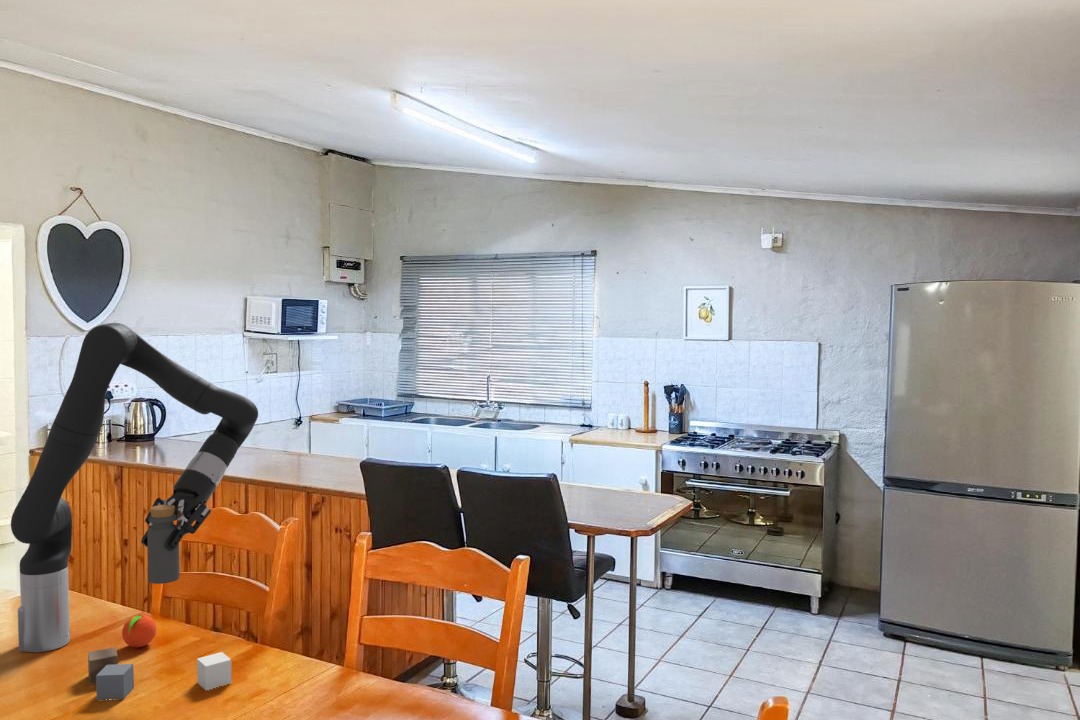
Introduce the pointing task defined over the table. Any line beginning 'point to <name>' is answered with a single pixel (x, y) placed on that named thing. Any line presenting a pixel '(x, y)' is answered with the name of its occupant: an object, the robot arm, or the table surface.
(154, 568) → the bottle
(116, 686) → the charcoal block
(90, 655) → the walnut block
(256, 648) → the table surface
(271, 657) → the table surface
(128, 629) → the peach
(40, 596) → the robot arm
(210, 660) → the offwhite block
